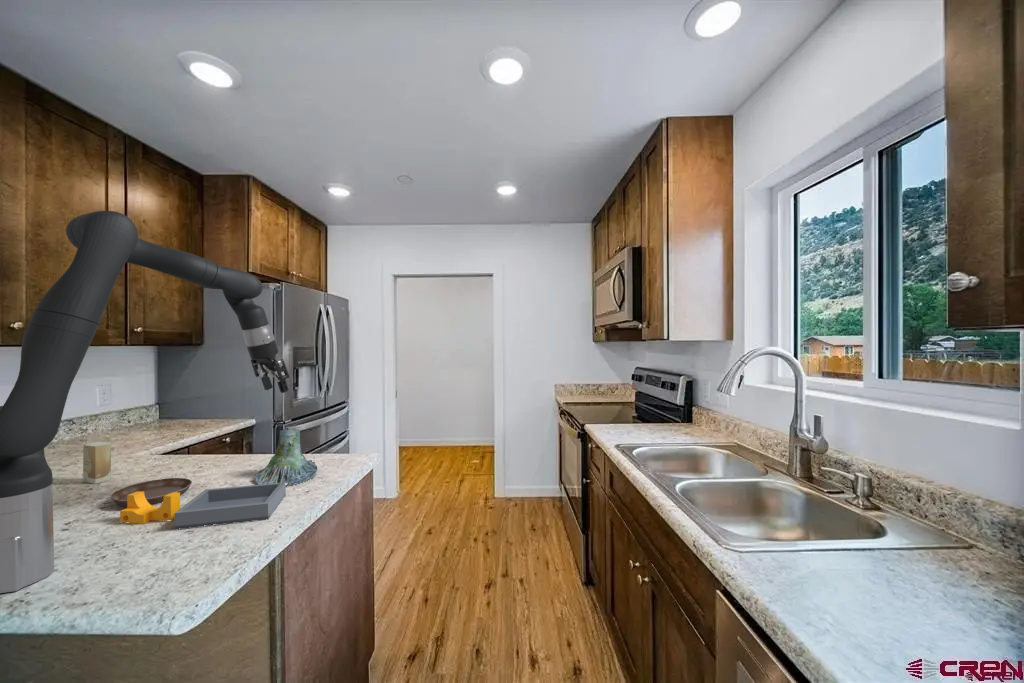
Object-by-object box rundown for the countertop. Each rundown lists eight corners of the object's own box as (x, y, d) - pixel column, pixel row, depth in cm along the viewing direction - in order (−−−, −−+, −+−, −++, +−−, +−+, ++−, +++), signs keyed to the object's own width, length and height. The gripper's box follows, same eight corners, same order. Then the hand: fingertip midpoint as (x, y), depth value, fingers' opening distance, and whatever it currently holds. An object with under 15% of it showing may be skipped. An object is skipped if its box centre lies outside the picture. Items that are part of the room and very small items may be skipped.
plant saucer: (207, 487, 127) (207, 478, 127) (151, 512, 109) (151, 501, 109) (155, 486, 128) (155, 476, 128) (92, 510, 111) (91, 498, 111)
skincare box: (82, 482, 132) (81, 444, 132) (99, 477, 136) (98, 441, 136) (95, 484, 130) (94, 445, 130) (112, 479, 134) (111, 442, 134)
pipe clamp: (120, 523, 102) (119, 497, 102) (137, 516, 106) (137, 491, 106) (164, 525, 101) (164, 499, 101) (180, 517, 105) (179, 492, 105)
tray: (268, 519, 103) (268, 503, 103) (174, 529, 98) (174, 513, 98) (285, 495, 119) (285, 482, 119) (205, 503, 113) (205, 489, 113)
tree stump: (242, 493, 122) (244, 432, 126) (267, 486, 142) (268, 433, 145) (308, 484, 126) (308, 425, 130) (324, 479, 145) (324, 428, 149)
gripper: (234, 344, 123) (252, 393, 128) (261, 346, 116) (278, 398, 121) (259, 336, 129) (275, 383, 134) (286, 338, 122) (301, 387, 127)
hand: (276, 390), depth 127 cm, fingers open, 8 cm apart
